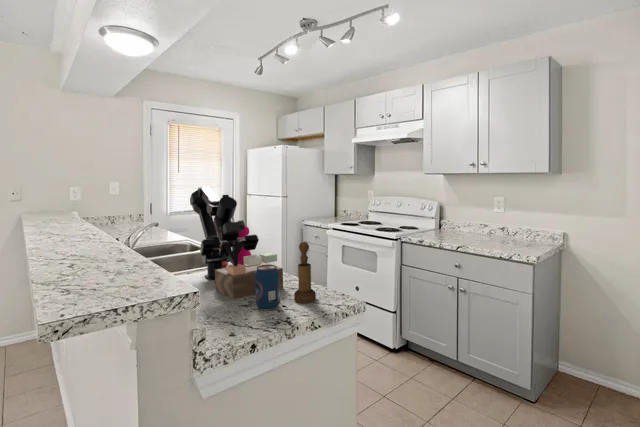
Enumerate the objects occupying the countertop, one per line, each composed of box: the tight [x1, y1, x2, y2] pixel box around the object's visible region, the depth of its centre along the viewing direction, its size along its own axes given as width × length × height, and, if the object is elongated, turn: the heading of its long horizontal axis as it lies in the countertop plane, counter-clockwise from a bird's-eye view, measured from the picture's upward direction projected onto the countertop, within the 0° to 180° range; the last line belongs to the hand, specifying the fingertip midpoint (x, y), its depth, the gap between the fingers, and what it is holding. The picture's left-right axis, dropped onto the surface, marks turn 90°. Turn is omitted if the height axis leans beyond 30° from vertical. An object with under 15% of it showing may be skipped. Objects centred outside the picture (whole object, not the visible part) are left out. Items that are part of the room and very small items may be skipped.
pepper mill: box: [237, 225, 252, 265], centre depth 157 cm, size 7×7×20 cm
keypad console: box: [214, 262, 284, 300], centre depth 127 cm, size 14×18×7 cm
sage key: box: [258, 252, 278, 264], centre depth 128 cm, size 4×4×2 cm
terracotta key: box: [226, 264, 246, 276], centre depth 120 cm, size 4×4×2 cm
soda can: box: [255, 264, 281, 311], centre depth 108 cm, size 7×7×12 cm
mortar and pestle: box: [293, 241, 317, 304], centre depth 114 cm, size 7×6×18 cm
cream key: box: [244, 254, 262, 266], centre depth 124 cm, size 4×4×2 cm
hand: (236, 265), depth 120 cm, fingers closed, pressing on terracotta key
